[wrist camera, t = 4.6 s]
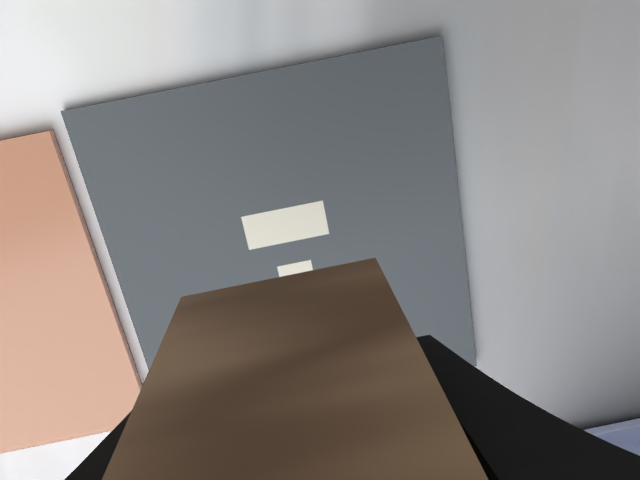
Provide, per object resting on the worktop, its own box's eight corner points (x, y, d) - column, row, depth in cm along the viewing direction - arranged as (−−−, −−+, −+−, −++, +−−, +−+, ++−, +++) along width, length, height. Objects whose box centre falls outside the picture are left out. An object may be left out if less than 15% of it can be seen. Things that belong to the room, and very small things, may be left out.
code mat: (440, 36, 16) (442, 35, 16) (474, 362, 20) (476, 365, 20) (63, 110, 16) (60, 111, 16) (169, 425, 20) (168, 429, 20)
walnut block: (375, 257, 11) (488, 478, 5) (402, 419, 12) (515, 744, 6) (180, 296, 10) (63, 566, 5) (228, 455, 12) (181, 816, 6)
